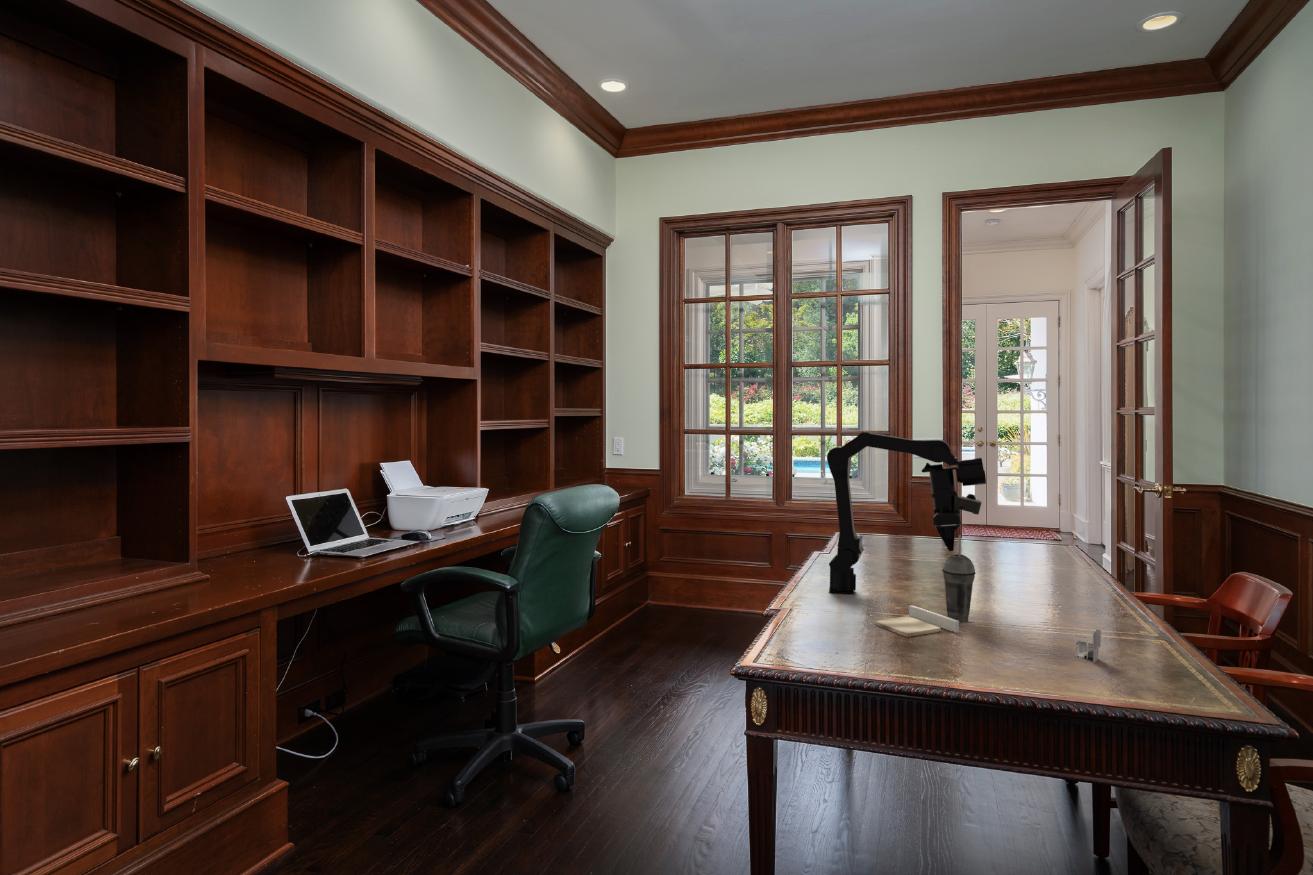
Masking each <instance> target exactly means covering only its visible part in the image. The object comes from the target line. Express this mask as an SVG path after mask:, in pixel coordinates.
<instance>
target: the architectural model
mask: <svg viewBox="0 0 1313 875" xmlns="http://www.w3.org/2000/svg"><path fill="white" fill-rule="evenodd" d="M1078 638H1079V639H1078ZM1082 638H1083V640H1081V639H1082ZM1101 639H1102V630H1100V629H1099V627H1097V628H1096V629H1095V631H1093V633H1092V643H1091V642H1089V639H1088V636H1087V637H1086V636H1082V635H1081V636H1079V635H1077V634H1076V635H1075V641H1076V642H1075V645H1076V649H1075V655H1074V656H1076V657H1078V656H1079V657H1078V658H1082V659H1085V656H1086V659H1087V660H1088V659H1089V658H1091V659H1092V663H1093V664H1095V663H1096V662H1097V661H1098V659H1099V648H1102V647H1101V645H1102V644H1101V641H1102V640H1101ZM1077 654H1078V655H1077ZM1095 661H1096V662H1095Z"/></svg>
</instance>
